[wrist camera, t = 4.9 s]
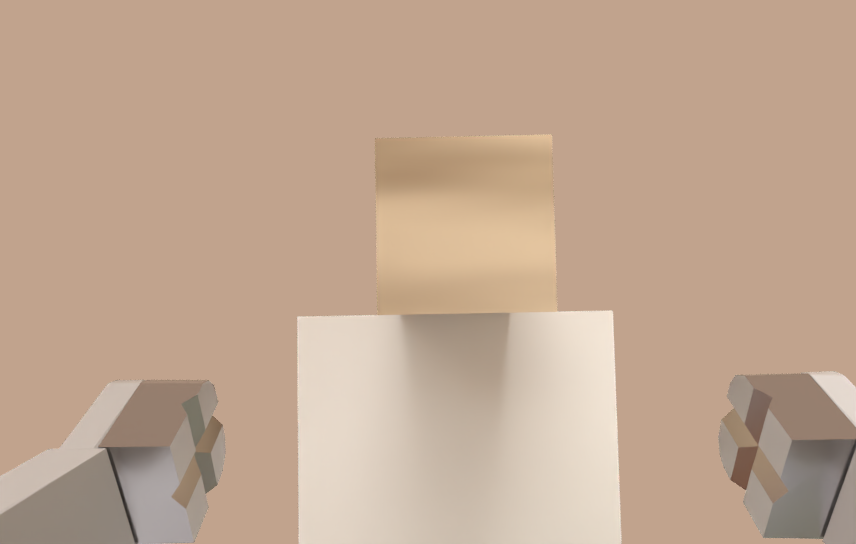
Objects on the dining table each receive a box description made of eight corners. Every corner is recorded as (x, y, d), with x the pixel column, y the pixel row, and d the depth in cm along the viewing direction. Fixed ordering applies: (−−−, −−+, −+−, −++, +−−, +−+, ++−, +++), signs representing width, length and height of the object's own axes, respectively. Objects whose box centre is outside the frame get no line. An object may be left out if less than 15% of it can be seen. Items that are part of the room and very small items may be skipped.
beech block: (564, 311, 13) (559, 134, 13) (377, 315, 13) (375, 138, 13) (482, 313, 35) (481, 247, 35) (413, 314, 35) (412, 248, 35)
